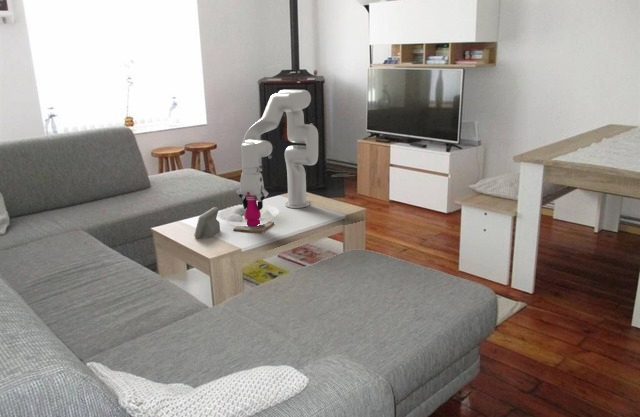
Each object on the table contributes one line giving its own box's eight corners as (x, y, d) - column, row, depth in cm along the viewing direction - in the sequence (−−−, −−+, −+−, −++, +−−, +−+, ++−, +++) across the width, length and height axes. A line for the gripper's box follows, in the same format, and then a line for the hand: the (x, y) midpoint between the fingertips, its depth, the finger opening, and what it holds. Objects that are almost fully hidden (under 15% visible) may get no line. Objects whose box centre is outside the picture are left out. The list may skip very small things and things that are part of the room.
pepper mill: (242, 225, 246) (239, 183, 241) (251, 221, 252) (249, 179, 247) (255, 227, 243) (252, 184, 238) (264, 223, 249) (261, 181, 244)
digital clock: (211, 227, 249) (209, 205, 246) (227, 229, 246) (225, 207, 243) (188, 238, 236) (186, 214, 233) (205, 240, 232) (203, 217, 229)
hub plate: (247, 221, 256) (247, 219, 256) (274, 224, 252) (273, 221, 251) (233, 230, 244) (233, 228, 243) (261, 233, 239) (261, 230, 239)
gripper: (271, 169, 241) (273, 207, 246) (237, 167, 246) (239, 205, 251) (264, 173, 234) (267, 212, 239) (229, 171, 239) (232, 209, 245)
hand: (253, 208), depth 245 cm, fingers open, 6 cm apart
